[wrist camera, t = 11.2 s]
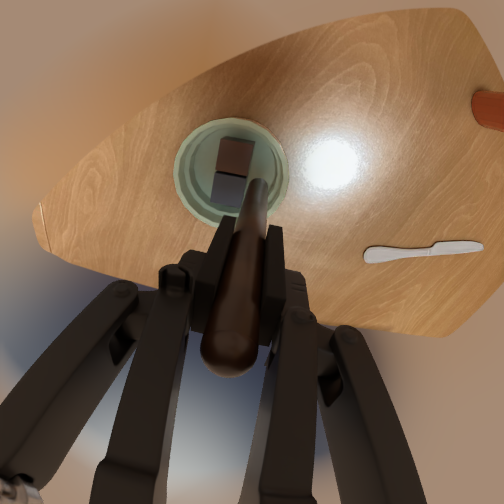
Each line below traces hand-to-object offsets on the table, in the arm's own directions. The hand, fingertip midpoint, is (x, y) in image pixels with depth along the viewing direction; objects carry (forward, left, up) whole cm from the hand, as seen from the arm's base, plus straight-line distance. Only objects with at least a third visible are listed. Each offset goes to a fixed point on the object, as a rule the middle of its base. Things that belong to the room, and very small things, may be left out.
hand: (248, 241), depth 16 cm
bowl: (0, -3, -18) cm, 19 cm away
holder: (-20, +29, -18) cm, 40 cm away
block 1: (-2, -3, -18) cm, 18 cm away
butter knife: (+4, +28, -18) cm, 34 cm away
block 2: (+2, -3, -18) cm, 18 cm away
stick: (0, 0, -13) cm, 13 cm away
